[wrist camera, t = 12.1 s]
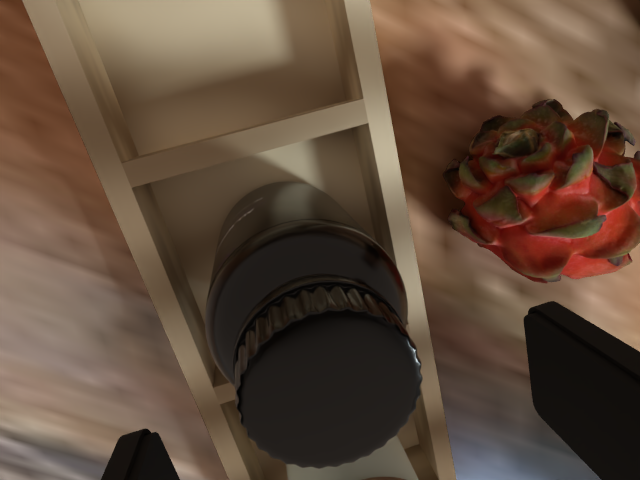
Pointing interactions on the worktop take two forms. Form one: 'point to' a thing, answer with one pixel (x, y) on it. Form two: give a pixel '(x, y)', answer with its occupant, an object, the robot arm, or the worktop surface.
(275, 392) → the supplement bottle
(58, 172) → the worktop surface
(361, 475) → the canister
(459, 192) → the dragon fruit
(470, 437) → the worktop surface
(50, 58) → the rack
